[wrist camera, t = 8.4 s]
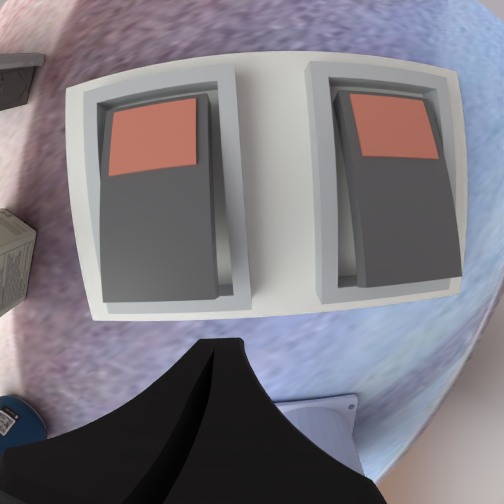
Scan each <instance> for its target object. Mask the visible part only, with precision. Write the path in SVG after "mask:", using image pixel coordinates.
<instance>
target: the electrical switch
mask: <svg viewBox="0 0 504 504" xmlns="http://www.w3.org/2000/svg"><path fill="white" fill-rule="evenodd" d="M44 59H45V55H44V54H40V53H18V54H2V55H0V111H2V110H6V109H9V108H13V107H17V106H21V105H25V104H27V101H28V93H29V87H30V84H31V81H32V73H33V70H34V67H35V66H43V65H44Z"/></svg>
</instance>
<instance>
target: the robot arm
mask: <svg viewBox="0 0 504 504" xmlns="http://www.w3.org/2000/svg"><path fill="white" fill-rule="evenodd" d="M351 404H353V405H351ZM349 405H351V406H349ZM357 406H358V397H357V396H356V395H355V394H351V395H345V396H338V397H331V398H323V399H315V400H306V401H295V402H284V403H273V401H272V400H271V399H270V397H269V396H268V394H267V393H266V392H265V390H264V389H263V387H262V385H261V384H260V382H259V381H258V379H257V377H256V375H255V373H254V371H253V370H252V368H251V366H250V363H249V361H248V359H247V356H246V353H245V349H244V341H243V340H242V339H241V338H216V339H199V340H198V341H197V342H196V343H195V344H194V345H193V346H192V347H191V348H190V349H189V350H188V351H187V352H186V353H185V354H184V355H183V356H182V357H181V358H180V359H179V360H178V361H177V362H176V363H175V364H174V365H173V366H172V367H171V368H170V369H169V370H168V371H167V372H166V373H165V374H163V375H162V376H161V377H160V378H159V379H157V380H156V381H155V382H154V383H153V384H152V385H150V386H149V387H148V388H147V389H146V390H144V391H143V392H142V393H140V394H139V395H137V396H136V397H135V398H133V399H132V400H130V401H129V402H127V403H126V404H124V405H122V406H121V407H119V408H118V409H116V410H114V411H112V412H111V413H109V414H107V415H105V416H103V417H101V418H99V419H97V420H95V421H93V422H91V423H89V424H87V425H85V426H83V427H80V428H78V429H75V430H73V431H70V432H68V433H65V434H62V435H59V436H56V437H53V438H50V439H46V440H43V441H39V442H34V443H30V444H26V445H21V446H16V447H10V448H7V449H6V450H5V451H4V453H3V454H2V456H1V457H0V504H387V503H386V501H385V499H384V497H383V496H382V495H381V493H380V491H379V490H378V488H377V487H376V485H375V484H374V482H373V481H372V480H371V479H369V478H367V477H365V475H364V471H363V468H362V465H361V462H360V459H359V456H358V453H357V450H356V447H355V444H354V441H353V438H352V433H353V428H354V423H355V417H356V412H357Z"/></svg>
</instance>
